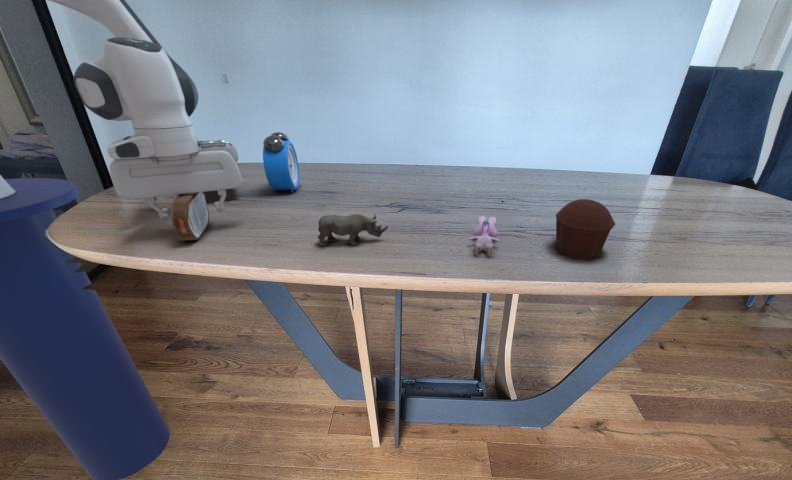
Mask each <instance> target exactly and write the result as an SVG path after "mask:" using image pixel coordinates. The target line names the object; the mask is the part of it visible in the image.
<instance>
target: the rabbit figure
mask: <svg viewBox="0 0 792 480" xmlns="http://www.w3.org/2000/svg"><path fill="white" fill-rule="evenodd" d="M476 222H477V223H476V224H477V226H476V227H475V229H474V230H473V232H472V233H473V236H471V237H469V238H468V240H469V241H473V240H475V242H474V254H475V256H477V255H480V253H481V252H483V251H484V252H485V253H486V255H488V256H492V253H491V252H492V251H493V248H494V244H493V241H495V242H497V243H500V242H501V240H500V239H499V238H497V236H498V235H499V232H498V230H497V228H496V226H497V223H498V220H497V218H496V216H490V217H488V219H487V217H486V216H484V215H480V216H479V217H478V218H477V219H476Z"/></svg>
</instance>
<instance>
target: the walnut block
mask: <svg viewBox="0 0 792 480" xmlns="http://www.w3.org/2000/svg"><path fill="white" fill-rule="evenodd" d="M225 190H226V198H225V200H224V202H227V201H235V200H236V199H237V198H236V195H235V191H234V188H233V189H225ZM204 194H205V199H206V203H207V204H211V203H215V202H218V201H219V199H220V196H221V195H218V191H217V190H215V191H206V192H204Z"/></svg>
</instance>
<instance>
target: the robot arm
mask: <svg viewBox="0 0 792 480" xmlns="http://www.w3.org/2000/svg"><path fill="white" fill-rule="evenodd" d="M48 1H50V2H52V3H56V4H58V5H61V6H63V7H67V8H69V9H71V10H74V11H77V12H78V13H81V14H83V15H85V16H87V17H89V18H91V19H93V20H94V21H96V22H98V23H99V24H101V25H102V26H103V27H105V28H106V29H107V30H108V31H109V32H110V33H111V34H112V35H113V36H114V37H111V38H107V39H106V40H105V41H104V44H103V47H104V48H103V49H104V50H103V51H102V53H101V54H100V55H98V56H97V57H95V58H93V59H92V60H90V61H87V62H82V63H81V64H79V65H78V66H77V68H76V69H75V72H74V74H73V77H72V80H73V85H74V88H75V91H76V93H77V95H78V97H79V99H80V101H81V102H82V104H83V105H84V106H85V108H87V109H88V110H89V111H90V112H92V113H93V114H95V115H97V116H98V117H100V118H102V119H104V120H107V121H115V122H125V121H127V122H128V121H131V125H132V129H133V132H134V134H133V135H129V136H125V137H124V138H121V139H118V140H115V141H112V143H110V144H109V145H108V146H107V147H106V149H107V153H108V155H109V157H110V158H111V159H113V160H112V161H111V163H110V164H109V174H110V178H111V182H112V185H113V188H114V190H115V193H116V195H117V196H118V197H119V198H121V199H122V200H124V201H131V200H140V199H141V200H142V199H144V201H145V203H146V205H147V206H149V207H151V208H152V209H153V210H154V211H155V212H157V213H158V216H159V218H160V220H167V219H168V220H169V219H171V214H170V213H171V212H169V208H168V207H162V206H160V205H159V203H157V198H159V197H168V196H176V195H177V196H178V195H179V194H188V193H197V192H206V191H215V190H217V191H218V195H221V196H220V199H219V201H218V202H214V207H215V209H216V212H217V213H221V212H226V210H225V209H226V208H225V205H224V203H225V201H224V200H225V198H226V190H225V189H233V190H234V189H239V188H240V189H241V187H242V186H243V184H244V180H243V177H242V174H241V171H240V169H239V167H238V164H237V162H238V161H239V154H238V151H237V147H236V146H235V145H234V144H233V143H231V142H229V141H226V140H225V139H217V140H198V138H197V134H196V131H195V127H194V125H193V122H192V120H191V118H190V117H191V116H192V114H193V113H194V112H195V110H196V109H197V106H198V105H199V104H198V103H199V91H198V88H197V86H196V84H195V82H194V81H193V79H192V78H191V76H190V75H189V74H188V73H187V71H185V70H184V68H182V67H181V65H179V64H178V62H176V61H175V60H174V59H173V58H172V57H171V56H170V55H169V54H168V52H167V51H166V50H165V49H164V48H163V46H162V45H161V44H160V42H158V40H157V39H156V38H155V36H154V35H153V34H152V33H151V31H150V30H149V28H147V26H146V25H145V23H143V21H142V20H141V19H140V18H139V16H138V15H137V14H136V12H135V10H133V8H132V7H131V6H130V5H129V4H128V3H127V1H126V0H48ZM4 179H5V178H4V177H3V176H2V175H1V174H0V199H1V198H4V197H7V196H10V195H12V194H14V193H15V192H16V190H14V189H13V188H12V187H11V186H10V185H9V184H8V183H7V182H6V181H5V180H4Z"/></svg>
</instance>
